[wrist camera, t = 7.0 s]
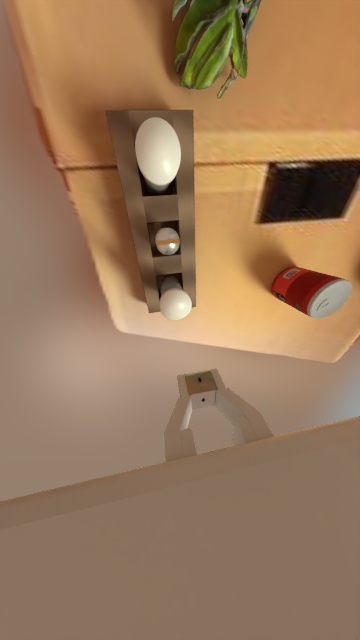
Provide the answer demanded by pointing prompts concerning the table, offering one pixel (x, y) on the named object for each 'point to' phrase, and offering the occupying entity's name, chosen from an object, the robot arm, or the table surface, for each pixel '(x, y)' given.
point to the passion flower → (213, 40)
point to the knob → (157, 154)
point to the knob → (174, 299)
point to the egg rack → (158, 200)
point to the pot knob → (167, 241)
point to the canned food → (311, 291)
